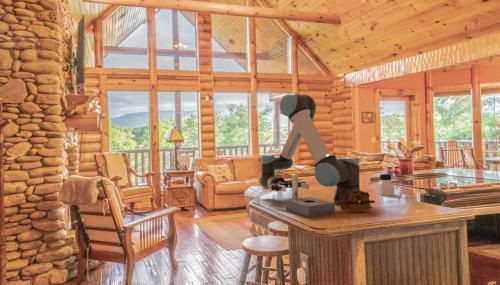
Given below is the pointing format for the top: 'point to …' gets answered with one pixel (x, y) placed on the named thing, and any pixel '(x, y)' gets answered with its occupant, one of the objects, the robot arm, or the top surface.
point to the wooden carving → (356, 201)
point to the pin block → (310, 207)
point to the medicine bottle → (385, 185)
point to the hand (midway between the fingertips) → (296, 187)
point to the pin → (295, 186)
